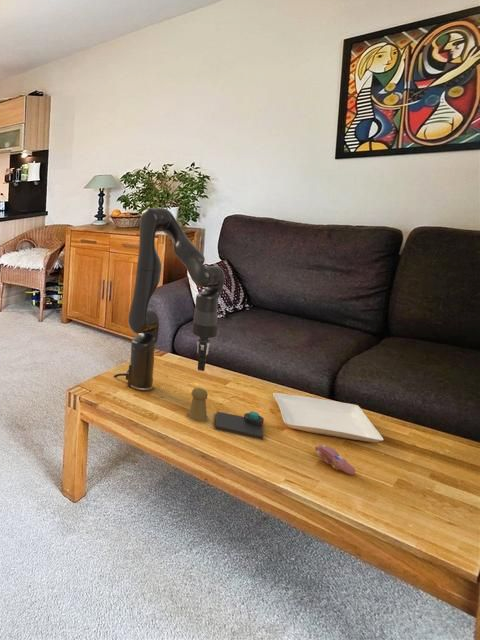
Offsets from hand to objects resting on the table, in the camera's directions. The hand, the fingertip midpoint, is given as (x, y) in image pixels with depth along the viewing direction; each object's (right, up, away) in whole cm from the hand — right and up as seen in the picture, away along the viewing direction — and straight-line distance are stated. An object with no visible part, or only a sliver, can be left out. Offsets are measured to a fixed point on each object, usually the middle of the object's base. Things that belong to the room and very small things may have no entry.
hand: (201, 367), depth 170 cm
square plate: (+43, -20, 0) cm, 47 cm away
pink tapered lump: (+27, -24, -27) cm, 45 cm away
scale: (+11, -20, -3) cm, 24 cm away
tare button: (+17, -18, -2) cm, 25 cm away
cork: (0, -20, +3) cm, 20 cm away
